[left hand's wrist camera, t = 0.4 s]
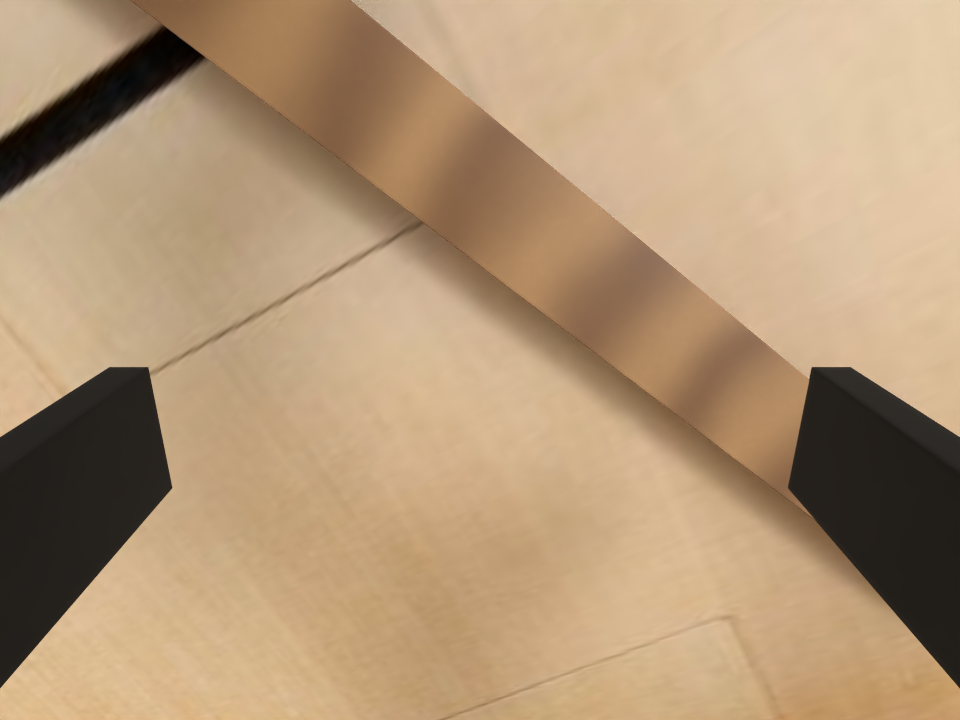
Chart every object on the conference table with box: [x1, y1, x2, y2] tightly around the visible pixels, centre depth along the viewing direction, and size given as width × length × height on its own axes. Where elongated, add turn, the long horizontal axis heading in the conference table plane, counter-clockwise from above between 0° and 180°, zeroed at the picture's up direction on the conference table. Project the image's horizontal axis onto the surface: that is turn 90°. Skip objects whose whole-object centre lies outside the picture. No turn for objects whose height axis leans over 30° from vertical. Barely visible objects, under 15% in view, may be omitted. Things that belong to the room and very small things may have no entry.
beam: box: [131, 0, 815, 520], centre depth 34 cm, size 76×6×8 cm, turn 53°
